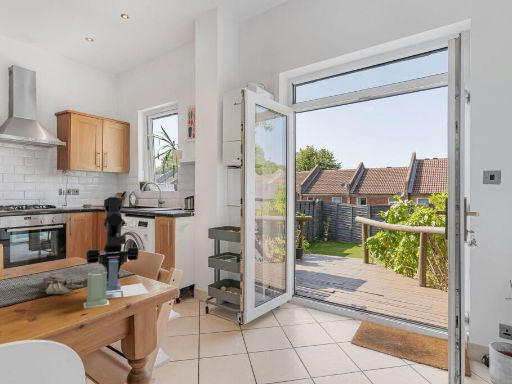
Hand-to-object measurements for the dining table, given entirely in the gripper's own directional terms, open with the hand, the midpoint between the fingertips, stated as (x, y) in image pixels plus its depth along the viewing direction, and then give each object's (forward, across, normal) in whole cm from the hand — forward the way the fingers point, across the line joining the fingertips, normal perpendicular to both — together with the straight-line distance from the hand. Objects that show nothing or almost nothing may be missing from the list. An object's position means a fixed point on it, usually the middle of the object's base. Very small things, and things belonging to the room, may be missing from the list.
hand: (113, 273), depth 115 cm
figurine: (-4, -20, +18) cm, 27 cm away
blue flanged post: (+3, 0, +5) cm, 6 cm away
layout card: (+5, +1, +8) cm, 10 cm away
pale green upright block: (+11, -5, +2) cm, 12 cm away
